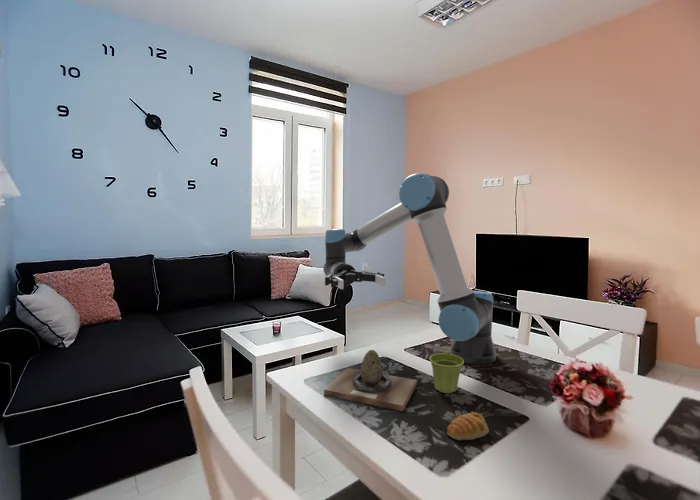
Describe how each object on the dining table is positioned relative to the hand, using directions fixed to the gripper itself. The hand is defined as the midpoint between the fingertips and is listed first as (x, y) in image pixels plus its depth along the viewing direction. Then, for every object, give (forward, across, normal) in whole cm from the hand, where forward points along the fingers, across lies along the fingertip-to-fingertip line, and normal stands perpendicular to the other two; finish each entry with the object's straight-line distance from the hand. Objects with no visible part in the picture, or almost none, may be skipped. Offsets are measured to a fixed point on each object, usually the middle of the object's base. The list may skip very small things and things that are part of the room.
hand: (363, 283), depth 118 cm
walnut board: (+12, +2, -28) cm, 31 cm away
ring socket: (+12, +2, -27) cm, 29 cm away
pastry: (+38, -11, -29) cm, 49 cm away
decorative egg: (+12, +2, -27) cm, 29 cm away
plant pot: (+17, -18, -29) cm, 38 cm away
